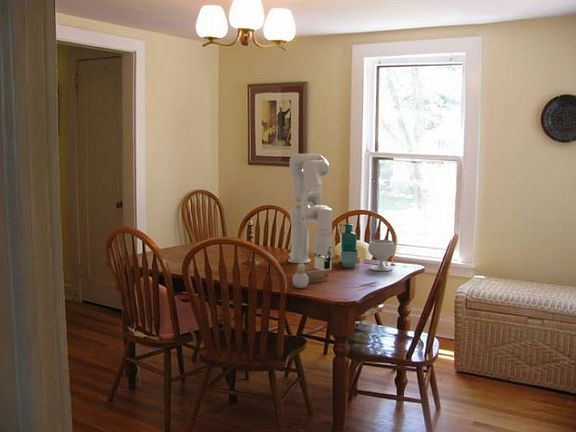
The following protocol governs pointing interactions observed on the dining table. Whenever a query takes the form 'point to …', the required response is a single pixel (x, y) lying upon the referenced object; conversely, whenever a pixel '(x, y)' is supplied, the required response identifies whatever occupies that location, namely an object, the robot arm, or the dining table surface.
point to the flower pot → (349, 257)
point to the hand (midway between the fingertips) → (322, 267)
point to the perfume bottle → (300, 277)
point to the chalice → (381, 252)
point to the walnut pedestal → (314, 275)
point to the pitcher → (348, 238)
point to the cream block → (321, 262)
